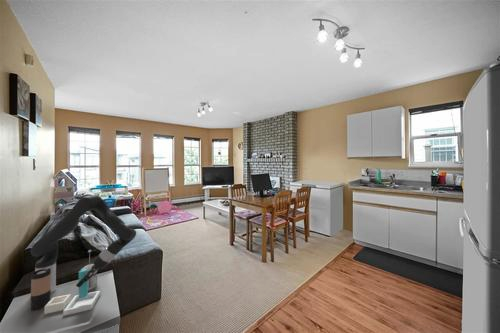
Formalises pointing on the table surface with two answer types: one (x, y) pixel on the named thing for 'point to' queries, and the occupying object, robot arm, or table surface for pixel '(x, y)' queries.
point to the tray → (81, 303)
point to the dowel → (84, 287)
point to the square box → (57, 304)
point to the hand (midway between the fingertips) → (79, 284)
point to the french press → (92, 280)
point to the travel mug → (40, 288)
